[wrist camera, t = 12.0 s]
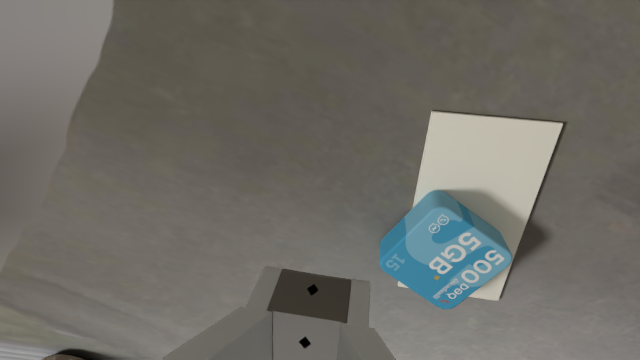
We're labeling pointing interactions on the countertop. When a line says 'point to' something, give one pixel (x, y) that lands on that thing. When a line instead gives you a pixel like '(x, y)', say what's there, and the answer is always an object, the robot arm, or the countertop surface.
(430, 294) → the data package
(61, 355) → the planter
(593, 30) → the countertop surface
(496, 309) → the countertop surface
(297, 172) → the countertop surface
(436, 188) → the mat
